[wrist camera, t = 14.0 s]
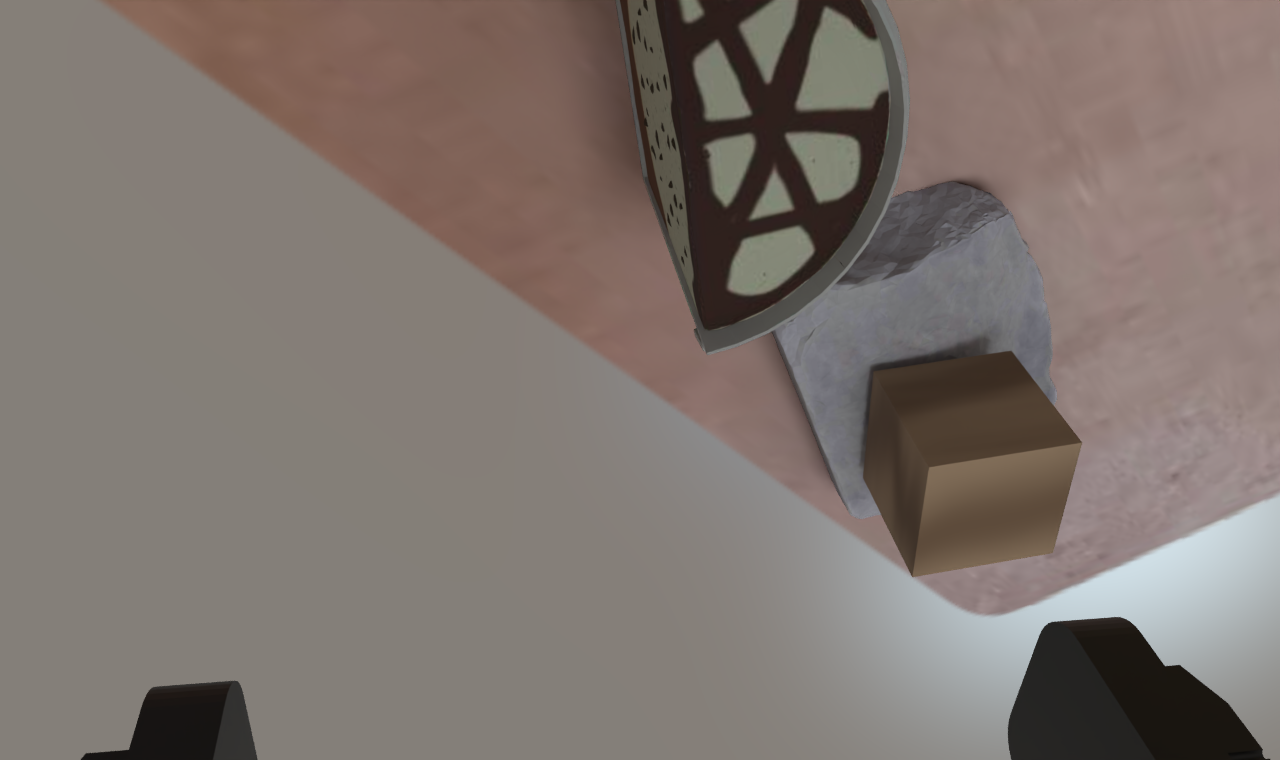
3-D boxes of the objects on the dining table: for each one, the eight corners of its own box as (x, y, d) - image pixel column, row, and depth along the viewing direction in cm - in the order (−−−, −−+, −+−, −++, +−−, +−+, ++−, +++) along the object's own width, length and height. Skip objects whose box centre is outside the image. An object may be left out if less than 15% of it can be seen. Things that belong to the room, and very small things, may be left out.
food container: (822, 185, 37) (931, 325, 29) (649, 220, 37) (709, 372, 29) (799, -214, 31) (932, -181, 22) (587, -175, 30) (642, -127, 22)
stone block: (951, 135, 39) (720, 274, 39) (1036, 174, 35) (780, 330, 35) (1013, 370, 46) (818, 492, 45) (1090, 425, 42) (878, 559, 41)
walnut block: (873, 371, 37) (929, 467, 33) (1011, 350, 37) (1082, 442, 33) (862, 477, 40) (912, 577, 36) (990, 457, 40) (1052, 552, 37)
